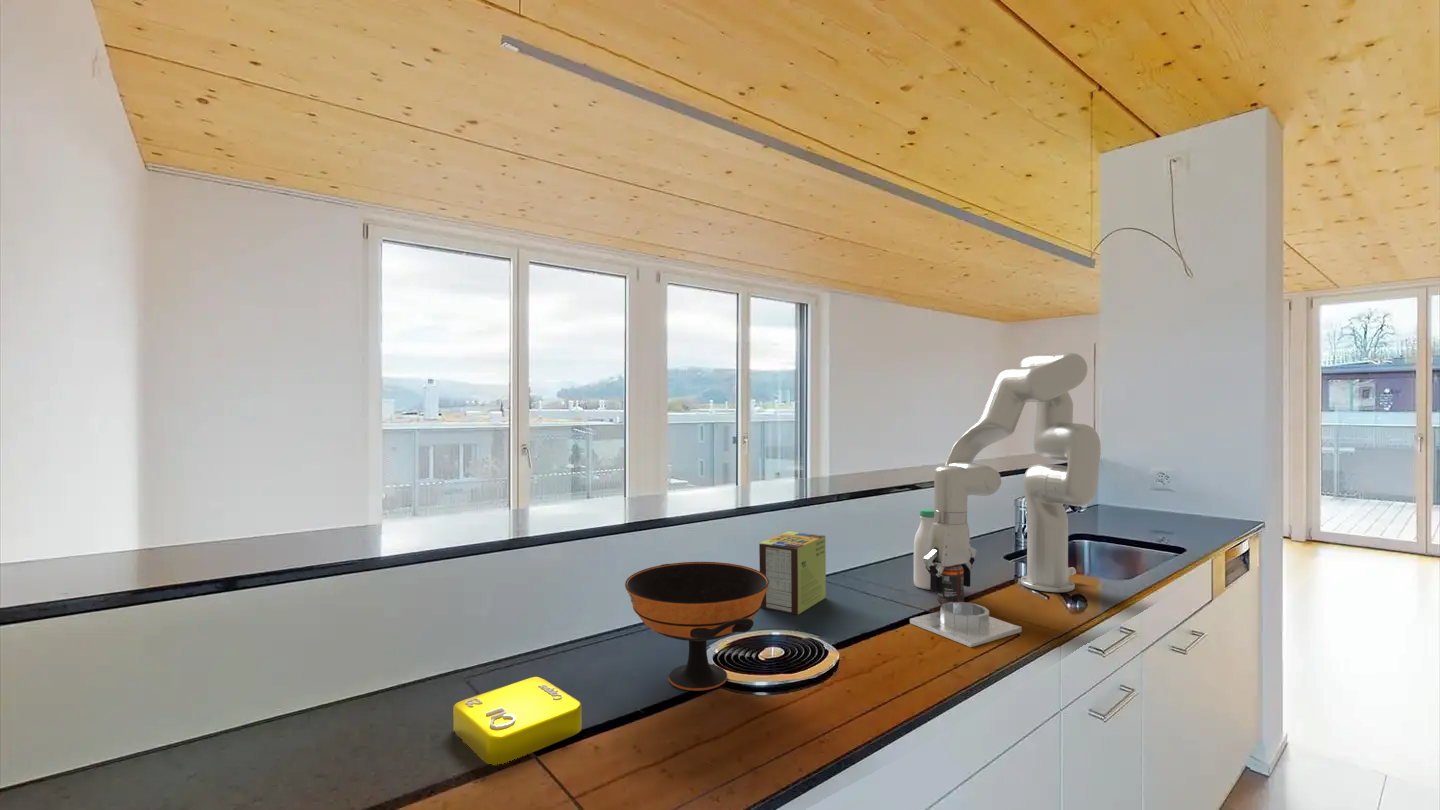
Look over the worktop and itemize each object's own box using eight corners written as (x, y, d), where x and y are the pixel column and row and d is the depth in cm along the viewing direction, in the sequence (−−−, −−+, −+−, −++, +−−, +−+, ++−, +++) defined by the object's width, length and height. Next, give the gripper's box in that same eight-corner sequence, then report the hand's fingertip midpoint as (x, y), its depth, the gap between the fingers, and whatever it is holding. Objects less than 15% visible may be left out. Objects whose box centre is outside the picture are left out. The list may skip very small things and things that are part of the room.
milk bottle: (948, 590, 169) (948, 512, 169) (918, 590, 169) (918, 512, 169) (939, 581, 177) (939, 506, 176) (910, 581, 177) (910, 507, 177)
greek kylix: (812, 708, 107) (812, 599, 107) (661, 742, 97) (660, 622, 97) (722, 633, 140) (722, 550, 140) (603, 653, 130) (602, 563, 130)
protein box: (826, 597, 164) (826, 535, 164) (798, 615, 151) (797, 547, 151) (788, 590, 170) (788, 530, 169) (758, 607, 157) (758, 542, 157)
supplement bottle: (960, 598, 162) (960, 552, 162) (966, 606, 156) (966, 559, 156) (935, 598, 163) (935, 552, 163) (940, 606, 157) (940, 558, 157)
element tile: (587, 732, 101) (586, 701, 101) (492, 772, 91) (491, 737, 90) (538, 699, 112) (538, 671, 112) (448, 731, 101) (448, 700, 101)
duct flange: (959, 610, 154) (959, 593, 154) (1021, 631, 140) (1021, 613, 140) (909, 623, 146) (909, 605, 146) (970, 647, 132) (970, 627, 132)
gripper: (962, 511, 167) (961, 579, 167) (913, 518, 158) (913, 590, 158) (987, 516, 160) (987, 586, 161) (938, 524, 152) (937, 598, 152)
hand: (950, 588), depth 160 cm, fingers open, 9 cm apart
